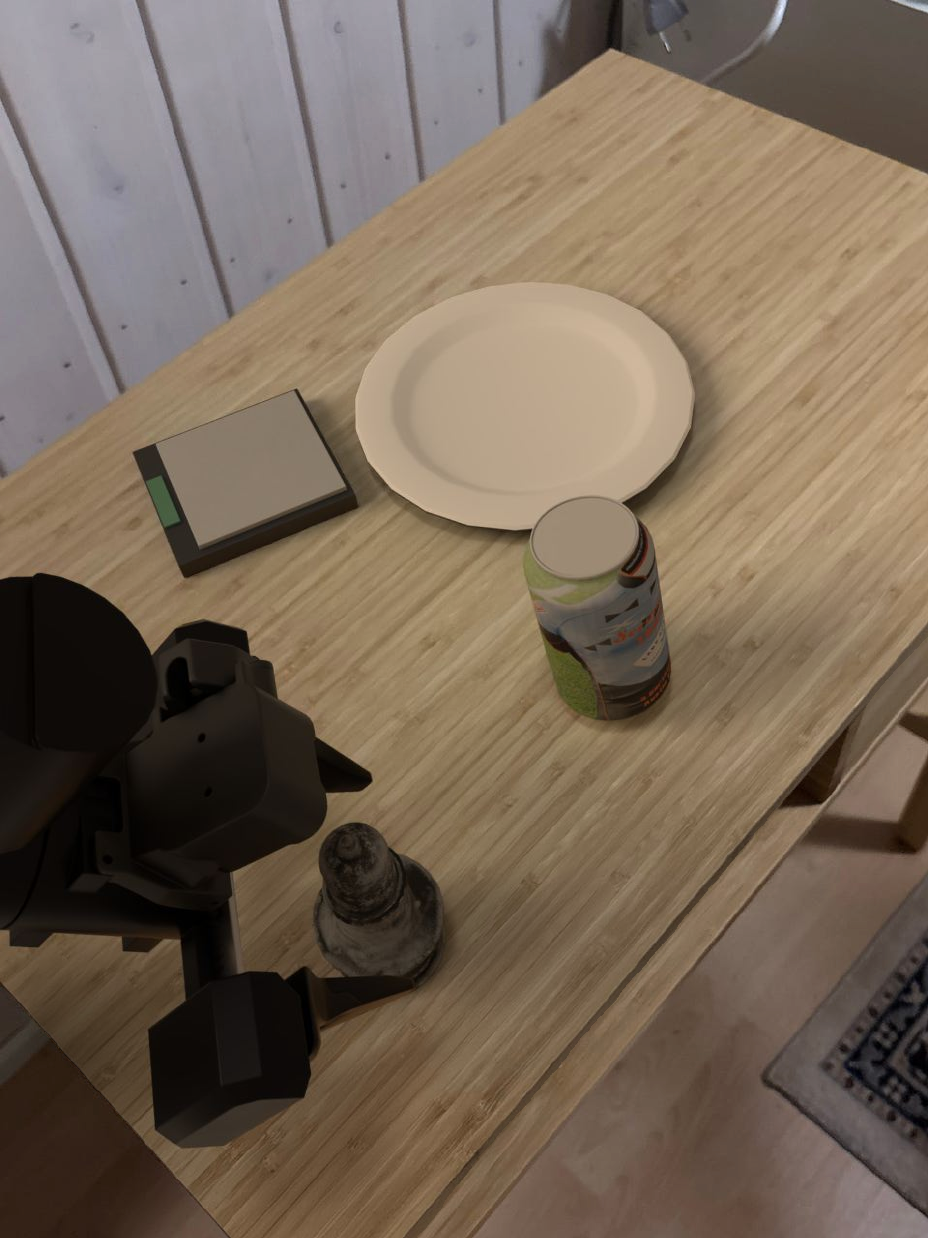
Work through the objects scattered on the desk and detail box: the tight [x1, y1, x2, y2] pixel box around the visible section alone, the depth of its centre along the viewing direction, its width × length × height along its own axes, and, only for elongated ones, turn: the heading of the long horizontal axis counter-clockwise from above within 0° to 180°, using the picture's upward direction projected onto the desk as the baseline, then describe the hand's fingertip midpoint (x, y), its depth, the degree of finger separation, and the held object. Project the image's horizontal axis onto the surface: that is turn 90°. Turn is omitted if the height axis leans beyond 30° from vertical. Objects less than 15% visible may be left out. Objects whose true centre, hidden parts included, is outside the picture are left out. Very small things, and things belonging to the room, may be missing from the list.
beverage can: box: [522, 495, 672, 722], centre depth 55 cm, size 6×7×12 cm
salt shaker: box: [311, 821, 446, 993], centre depth 49 cm, size 6×6×12 cm
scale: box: [132, 387, 359, 579], centre depth 69 cm, size 11×10×2 cm
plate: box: [354, 281, 696, 533], centre depth 71 cm, size 21×21×2 cm
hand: (386, 880), depth 48 cm, fingers open, 9 cm apart
